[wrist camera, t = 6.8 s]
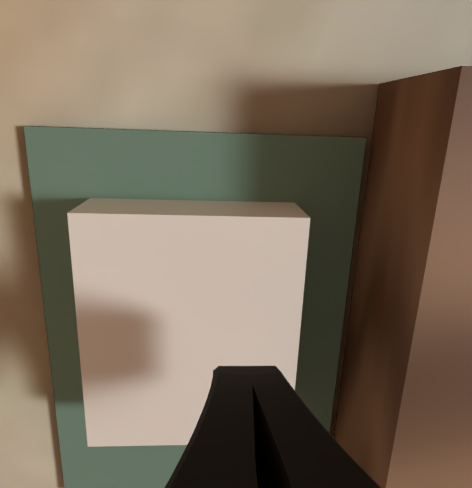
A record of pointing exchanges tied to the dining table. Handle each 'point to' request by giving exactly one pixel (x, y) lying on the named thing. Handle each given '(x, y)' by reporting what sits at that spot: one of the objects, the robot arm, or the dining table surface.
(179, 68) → the dining table surface
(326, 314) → the mat
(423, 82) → the riser
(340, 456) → the robot arm
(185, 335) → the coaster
